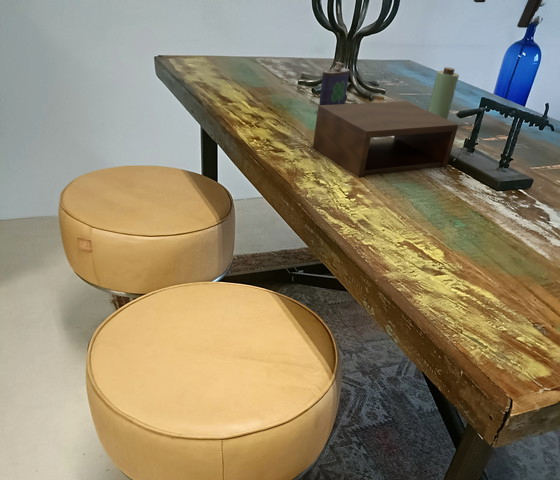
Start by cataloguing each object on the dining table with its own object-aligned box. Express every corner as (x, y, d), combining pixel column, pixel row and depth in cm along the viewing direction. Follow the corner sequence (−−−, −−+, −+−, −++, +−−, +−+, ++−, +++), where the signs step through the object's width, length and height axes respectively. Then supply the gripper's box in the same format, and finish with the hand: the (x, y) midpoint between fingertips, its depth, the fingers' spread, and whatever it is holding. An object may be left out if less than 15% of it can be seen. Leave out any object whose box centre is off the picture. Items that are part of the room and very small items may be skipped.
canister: (449, 125, 137) (465, 71, 130) (434, 126, 135) (448, 71, 127) (436, 119, 140) (450, 65, 133) (420, 120, 138) (434, 66, 131)
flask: (337, 107, 140) (345, 58, 133) (347, 110, 139) (355, 61, 132) (315, 112, 134) (321, 62, 127) (324, 116, 133) (332, 65, 126)
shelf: (446, 166, 113) (458, 124, 108) (358, 176, 104) (366, 131, 99) (397, 140, 124) (406, 101, 119) (312, 147, 114) (318, 105, 109)
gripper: (574, -74, 120) (526, 36, 129) (495, -136, 108) (447, -10, 117) (604, -78, 115) (552, 37, 123) (523, -144, 102) (471, -11, 111)
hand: (501, 14), depth 120 cm, fingers open, 13 cm apart
